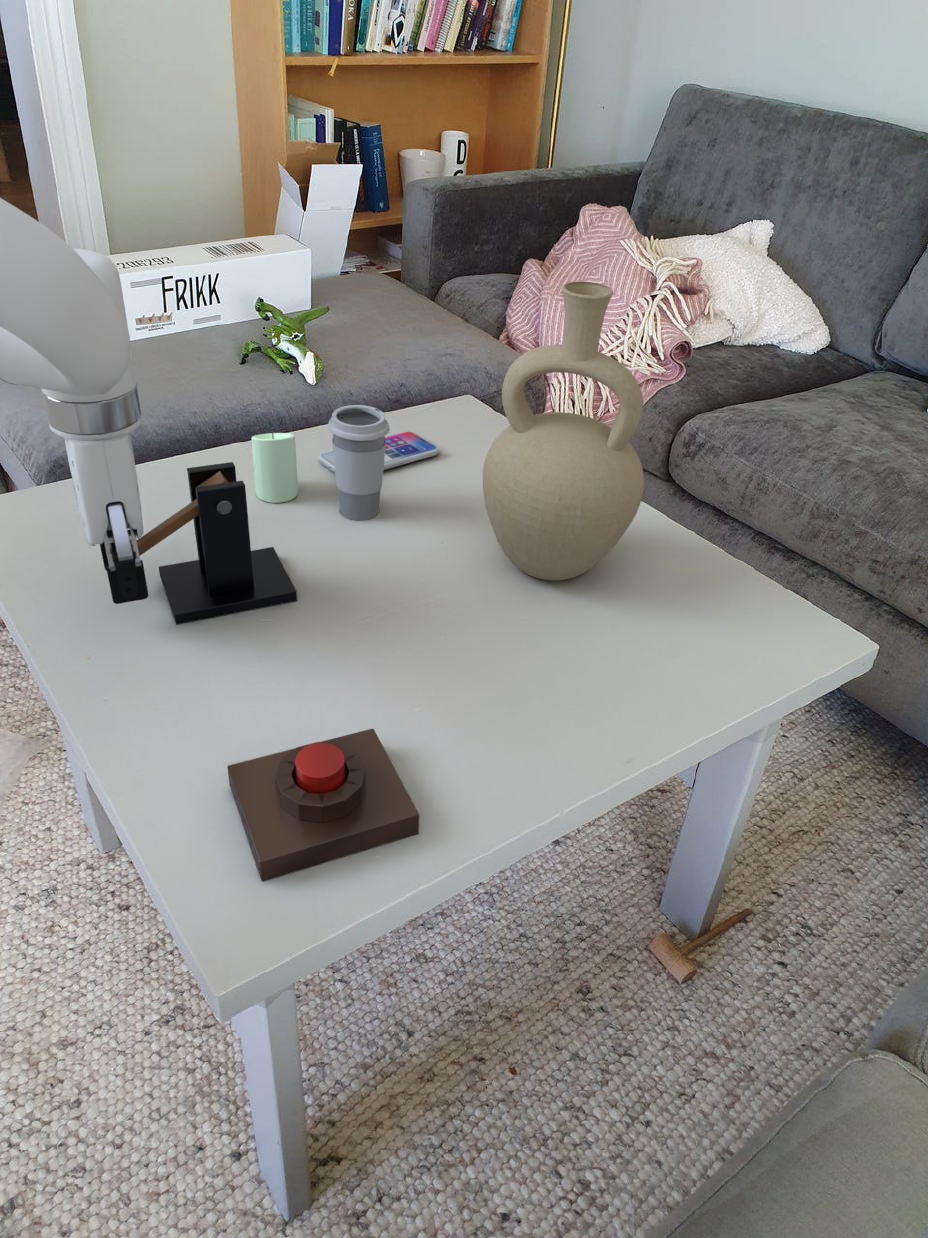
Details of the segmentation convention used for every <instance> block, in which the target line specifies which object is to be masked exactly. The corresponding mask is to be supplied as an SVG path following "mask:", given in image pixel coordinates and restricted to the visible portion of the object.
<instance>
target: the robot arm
mask: <svg viewBox="0 0 928 1238" xmlns="http://www.w3.org/2000/svg"><path fill="white" fill-rule="evenodd" d="M0 383H2V384H7V385H17V386H25V387H30V388H36V389H40V390H41V394H42V399H43V404H44V408H45V413H46V419H47V421H48V426H49V430H50V431H51V432H52V433H53V434H55V436H58V437H61V438H63V439H64V443H65V448H66V449H65V450H66V456H67V461H68V462H67V463H68V466H69V471H70V474H71V480H72V484H73V489H74V495H75V499H76V503H77V508H78V512H79V515H80V520H81V525H82V528H83V532H84V537H85V540H86V543H87V544H88V545H90V546H92V547H96V546H97V545H99V547H100V552H101V558H102V562H103V567H104V571H106V575H107V578H108V579H107V580H108V583H109V588H110V593H111V594H110V595H111V598H112V599H111V600H112V602H113V603H114V604H115V605H120V604H125V603H131V602H136V601H141V600H142V601H143V600H146V599H148V598H149V595H150V594H149V589H148V583H147V577H146V572H145V567H144V561H143V559H141V556H140V555H139V550H138V545H137V540H138V539H139V538H141V537H142V536H144V521H143V513H142V504H141V496H140V495H141V494H140V488H139V481H138V480H139V479H138V474H137V467H136V461H135V460H136V459H135V454H134V449H133V443H132V435H131V433H132V432H134V431H135V430H136V429H138V428H139V427H140V426H141V424H142V422H143V415H142V409H141V403H140V396H139V390H138V383H137V377H136V370H135V365H134V358H133V352H132V345H131V337H130V330H129V326H128V319H127V312H126V307H125V299H124V294H123V287H122V281H121V277H120V273H119V271H118V268H117V266H116V264H115V263H114V262H113V260H112V259H111V258H110V257H108V256H106V255H104V254H103V253H100V252H97V251H94V250H89V249H84V248H74V247H72V246H71V245H70V244H68V243H67V242H66V241H65V240H64V239H63V238H61V237H60V236H59V235H57V234H56V233H55V232H54V231H53V230H51V229H50V228H49V227H47V226H45V225H44V224H43V223H42V222H40V221H38V220H37V219H35V218H34V217H32V216H31V215H30V214H27V213H26V212H25V211H23V210H21V209H20V208H18V207H16V206H15V205H13V204H11V203H10V202H8V201H6V200H5V199H3V198H2V197H0ZM112 544H115V546H116V551H115V552H114V553H113V550H112Z"/></svg>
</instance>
